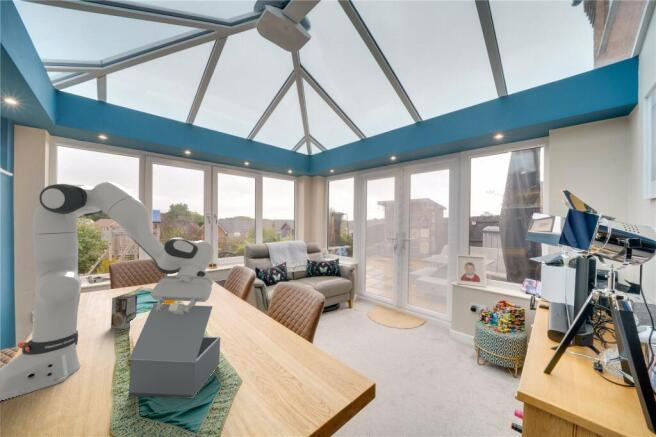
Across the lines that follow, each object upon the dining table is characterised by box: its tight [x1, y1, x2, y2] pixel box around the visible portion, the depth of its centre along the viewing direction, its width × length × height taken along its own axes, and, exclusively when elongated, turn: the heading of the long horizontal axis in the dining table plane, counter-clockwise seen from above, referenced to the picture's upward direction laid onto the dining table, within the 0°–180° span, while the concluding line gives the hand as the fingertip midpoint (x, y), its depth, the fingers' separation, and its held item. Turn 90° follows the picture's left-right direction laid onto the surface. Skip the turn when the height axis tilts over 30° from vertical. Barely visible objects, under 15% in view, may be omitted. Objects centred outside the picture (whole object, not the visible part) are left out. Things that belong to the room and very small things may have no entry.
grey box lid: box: [128, 302, 213, 362], centre depth 83 cm, size 18×22×6 cm
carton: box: [128, 335, 221, 399], centre depth 89 cm, size 18×22×12 cm
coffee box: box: [110, 294, 138, 330], centre depth 130 cm, size 9×6×16 cm
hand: (171, 311), depth 83 cm, fingers open, 8 cm apart
